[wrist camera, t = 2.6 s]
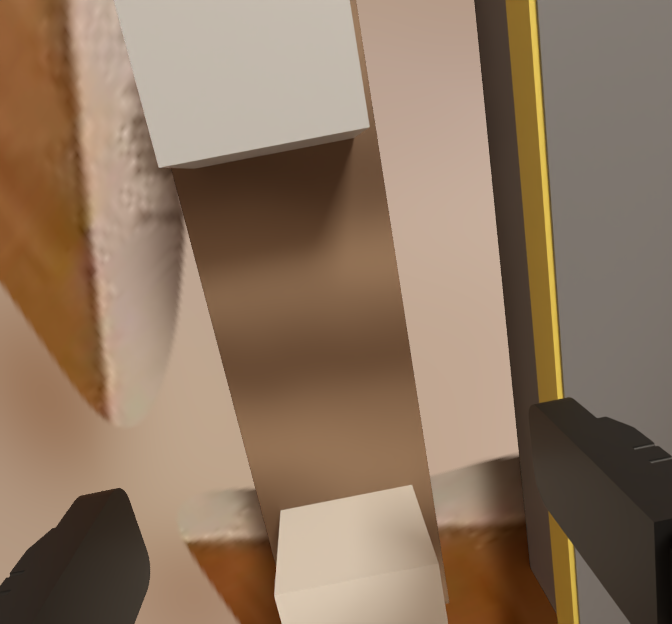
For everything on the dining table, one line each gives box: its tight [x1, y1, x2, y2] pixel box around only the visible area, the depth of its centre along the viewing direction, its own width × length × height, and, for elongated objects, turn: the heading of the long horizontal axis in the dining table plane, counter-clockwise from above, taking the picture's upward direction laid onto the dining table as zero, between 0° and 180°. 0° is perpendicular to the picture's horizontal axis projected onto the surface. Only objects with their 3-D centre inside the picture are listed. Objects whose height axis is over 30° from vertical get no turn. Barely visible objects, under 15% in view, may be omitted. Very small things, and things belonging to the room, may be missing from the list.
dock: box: [474, 0, 672, 624], centre depth 19 cm, size 30×10×5 cm, turn 11°
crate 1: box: [114, 0, 370, 169], centre depth 13 cm, size 4×5×4 cm
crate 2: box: [274, 485, 448, 624], centre depth 18 cm, size 4×5×4 cm
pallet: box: [171, 0, 449, 604], centre depth 19 cm, size 24×6×4 cm, turn 11°
